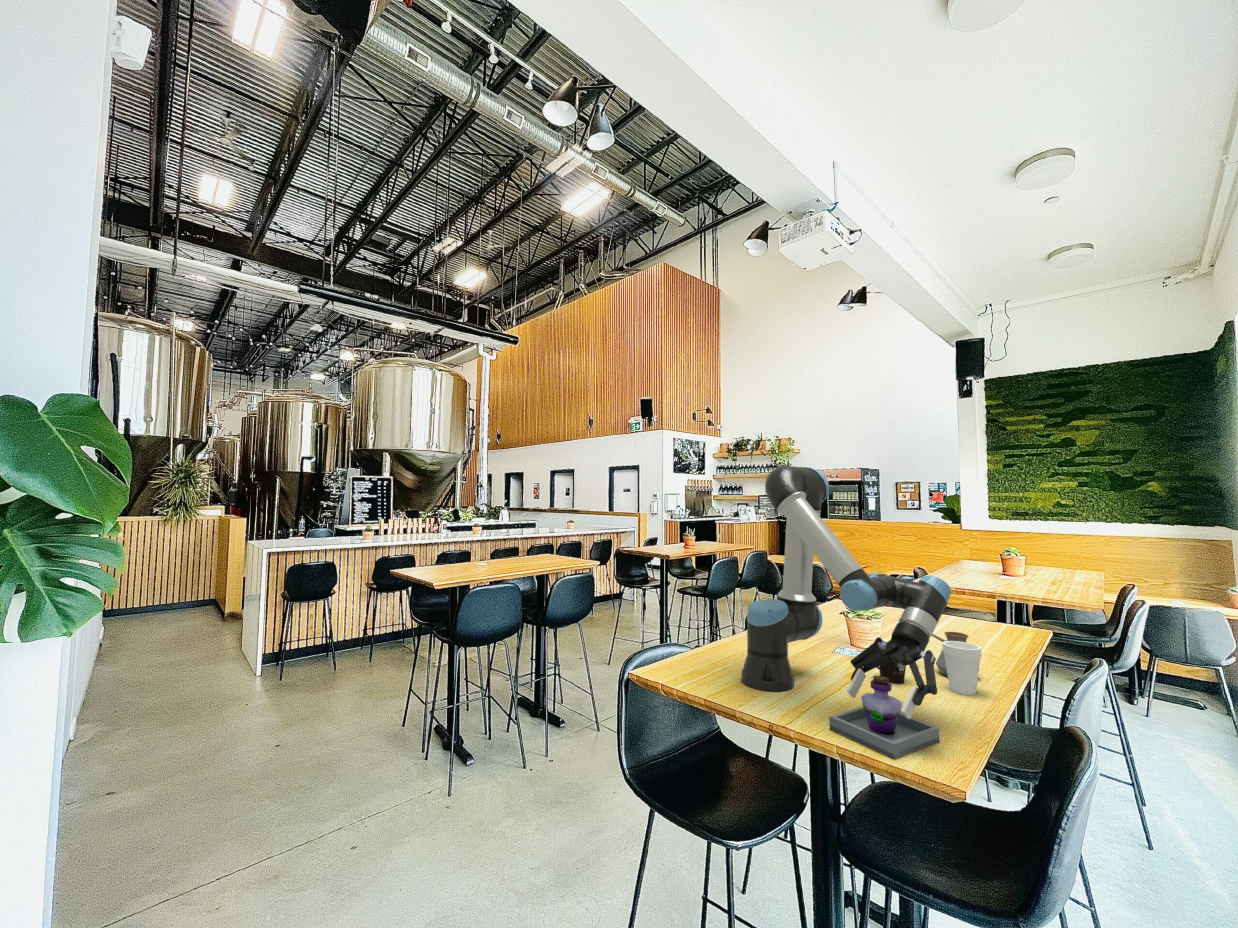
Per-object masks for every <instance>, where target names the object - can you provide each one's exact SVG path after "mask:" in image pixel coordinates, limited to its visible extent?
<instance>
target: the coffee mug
mask: <svg viewBox="0 0 1238 928" xmlns="http://www.w3.org/2000/svg"><path fill="white" fill-rule="evenodd" d="M884 649H885V648H884ZM886 656H887V657H889V655H888V654H886ZM906 667H907V666H904V665H902V664H899V663H894V662H893V661H892V662H890V663H884V664H882V665H880V666H878V667H876V668H875V669H877V670H879V676H882V677H886V678H889V683H890V684H894V685H895V684H896V685H901V684H904V683H905V677H906V669H907V668H906Z"/></svg>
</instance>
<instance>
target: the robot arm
mask: <svg viewBox="0 0 1238 928" xmlns="http://www.w3.org/2000/svg"><path fill="white" fill-rule="evenodd" d="M765 479H766V480H765V483H764V485H765V486H764V491H765V494H766V497H767V499H768V500H769V502H770V504H771V506H772V507H773V509H774V510H775V511H776V512H777V513H778V515H781V516H784V517H785V518H786V524H785V541H784V542H785V543H784V556H783V557H784V560H783V577H782V589H781V590H780V591H778V593H777V596H776V597H777V598H776V599H774V598H768V599H759V600H758V599H757V600H755V601H752V602H751V603H750V604H749V605H748V608H747V615H746V625H747V626H746V627H747V628H746V630H747V631H746V633H747V634H746V636H747V639H746V640H747V641H746V643H747V648H746V649H747V650H746V651H747V653H746V656H745V657H746V658H745V660H744V663H743V668H742V670H741V672H740V674H741V675H740V676H741V677H740V680H741V682H742V683H743V684H744V685H746V686H748V687H750V688H753V689H758V690H761V691H769V692H784V691H789V690H791V689H793V688H794V687H795V677H794V674H793V673H792V668H791V664H790V661H789V656H788V655H789V651H788V650H789V643H793V642H798V641H803V640H804V641H805V640H808V639H810V638H812V637H814V636H815V635H817V634H818V633H819V631H820V630H821V628H822V625H823V613H822V611H821V610H820V607H819V605H818V604H817V598H816V596H815V595H814V594H813V593H812V591H813V590H812V588H813V587H812V586H813V568H814V555H815V557H816V558H817V559H818V560H819V561H820V563H821V564H822V566H823V567H824V569H826V571H827V572H828V573H829V574H830V576H831V577H832V579H833V580H834V581H835V582H836V584H837V585H838V587H840V591H839V595H840V599H841V601H842V603H843V605H844V606H845V608H846V607H847V608H848V609H850V610H851V611H854V612H855V611H857V612H860V611H861V612H862V611H863V612H867V611H870V610H873V609H877V608H883V607H889V606H892V607H896V608H900V609H903V611H902V614H901V615H900V617H899V619H898V622H897V624H896V625H895V627H894V628H893V630H892V633H891V638H890V639H889V640H888V641H886V640H883V639H882V637H880V636H878V637H876V638H875V640H874V641H873V643H871V644H870V645H869V646H868V647H866V648H865V649H863V651H861V652H859V653H858V654H857V655H856V656H855V657H853V658H852V659H850V664H851V665H852V667H853V668H854V670H853V673H852V675H851V676H850V680H851V682H850V684H849V685H848V687H847V689H846V692H847V693H848V694H849V695H850V697H851V698H854V699H856V697H857V694H858V693H859V691H860V689H861V687H862V685H863V683H864V681H865V679H866V677H867V675H866V673H868V672H870V671H872V670H873V669H877V668H876V667H879V666H880V665H882V664H884V663H890V662H892V661H893V662H894V663H899V664H902V665H904V666H906V667H907V666H909V668H910V671H911V673H912V675H913V678H914V680H915V684H916V686H914V685H912V687H911V689H910V692H909V693H908V695H907V698H906V700H905V702H904V704H903V706H902V707H901V710H900V712H901V714H903V715H905V717H906V718H907V719H910V718H912V715H913V713H914V712H915V710H916V707H920V706H921V705H922V703H923V702H924V698H925V696H926V695H927V694H932V695H934V696H935V695H937V694H938V689H937V688H938V687H937V680H936V679H937V678H936V671H935V664H936V661H937V660H936V656H935V655H934V653H933V652H932V650H930V649H927V650H926V648H927V646H928V644H929V642H930V638H932V637H933V636H932V634H934V631H935V629H936V628H937V625H938V623H939V620H940V619H941V617H942V615H943V613H944V611H945V609H946V607H947V606H948V604H949V600H950V597H951V595H952V588H951V587H950V585H949V584H948V583H947V581H945V580H944V579H942V578H940V577H938V576H935V575H924V576H921V577H920V579H918V581H913V580H907V579H904V578H899V577H895V576H892V575H888V574H885V573H878V572H870V573H869V574H868V573H867V572H866V571H865V570H864V569H863V568H862V567H861V565H860V564H859V563H858V561H857V560H856V558H854V556H853V555H852V553H850V552H849V551H848V549H847V548H846V547H845V545H844V544H843V543H842V542H841V540H840V539H839V538H838V536H836V535H835V533H834V532H833V531H832V530H831V528H830V526H828V525H827V523H826V522H825V521H824V520H823V519H822V517H821V516H820V515H819V514H820V513H821V511H822V503H824V502H825V501H826V499H827V498H828V496H829V494H830V484H829V480H828V478H827V477H826V475H824V473H823V472H821V471H820V470H818V469H816V468H812V467H807V466H801V467H800V466H792V465H782V466H777V467H776V468H774V469H773V470H771V471H770V473H769V474H768V475H767V477H766V478H765ZM884 648H885V649H884ZM886 654H888V655H889V657H887V656H886ZM921 659H922V660H923V662H924V663H923V666H924V672H925V673H924V674H925V681H926V684H925V681H924V680H923V676H922V675H921V672H920V669H919V667H918V664H917V661H919V660H921Z"/></svg>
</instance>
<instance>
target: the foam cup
mask: <svg viewBox="0 0 1238 928" xmlns="http://www.w3.org/2000/svg"><path fill="white" fill-rule="evenodd" d="M942 649H943V652H944V656H945V662H946V668H947V674H948V676H947V679H948V686H949V690H950V691H951V692H953V693H956V694H958V695H964V696H974V695H977V689H978V680H979V673H980V666H981V658H982V648H981V646H980V645H977V644H974V643H970V642H967V641H966V642H959V641H947V640H946V641H944V642H942Z"/></svg>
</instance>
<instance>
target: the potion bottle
mask: <svg viewBox="0 0 1238 928" xmlns="http://www.w3.org/2000/svg"><path fill="white" fill-rule="evenodd" d="M872 679H873V680H871V681H870V688H871V689H873V692H865V693H864V694H863V695H861V696H860V699H861V703H862V707H864V711H865V712H866V715H867V719H868V723H869V728H870V729H872V730H873V731H876V732H879V733H882V734H884V735H893V734H894V733H895V727H896V723H897V719H898V717H897V716H899V714H900V713H901V710H902V707H903V706H902V705H903V702H902V701H900V699H897V698H896V697H895V696H892V695H889V693H890V692H891V691H892V684H893V683H889V678H886V677H882V676H880V675H873V677H872Z"/></svg>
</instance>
